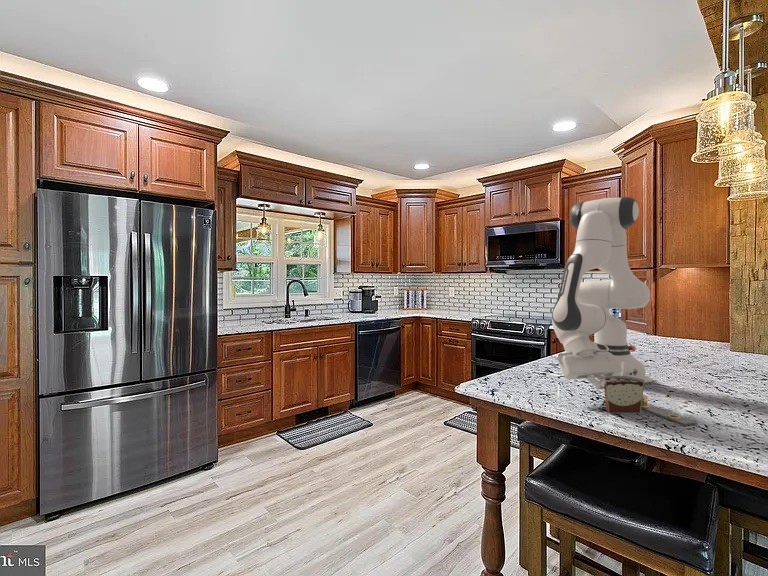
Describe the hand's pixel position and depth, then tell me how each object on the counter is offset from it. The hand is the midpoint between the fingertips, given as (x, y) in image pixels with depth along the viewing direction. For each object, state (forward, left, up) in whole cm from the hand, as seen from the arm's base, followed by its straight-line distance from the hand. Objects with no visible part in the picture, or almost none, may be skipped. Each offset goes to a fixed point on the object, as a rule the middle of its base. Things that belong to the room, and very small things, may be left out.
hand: (602, 388), depth 128 cm
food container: (0, +6, -5) cm, 8 cm away
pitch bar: (-9, +11, -5) cm, 16 cm away
